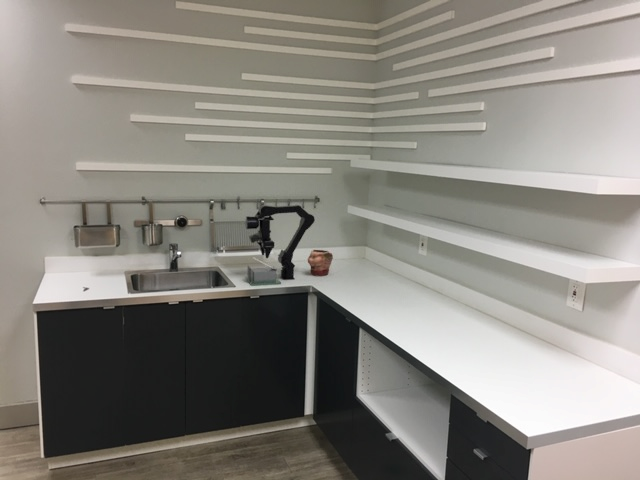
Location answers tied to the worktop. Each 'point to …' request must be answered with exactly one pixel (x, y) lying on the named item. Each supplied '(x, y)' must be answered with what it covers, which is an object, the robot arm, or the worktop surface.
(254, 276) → the green grey square block
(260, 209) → the robot arm
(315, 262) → the decorative planter
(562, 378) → the worktop surface
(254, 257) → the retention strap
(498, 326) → the worktop surface
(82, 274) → the worktop surface
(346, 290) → the worktop surface
